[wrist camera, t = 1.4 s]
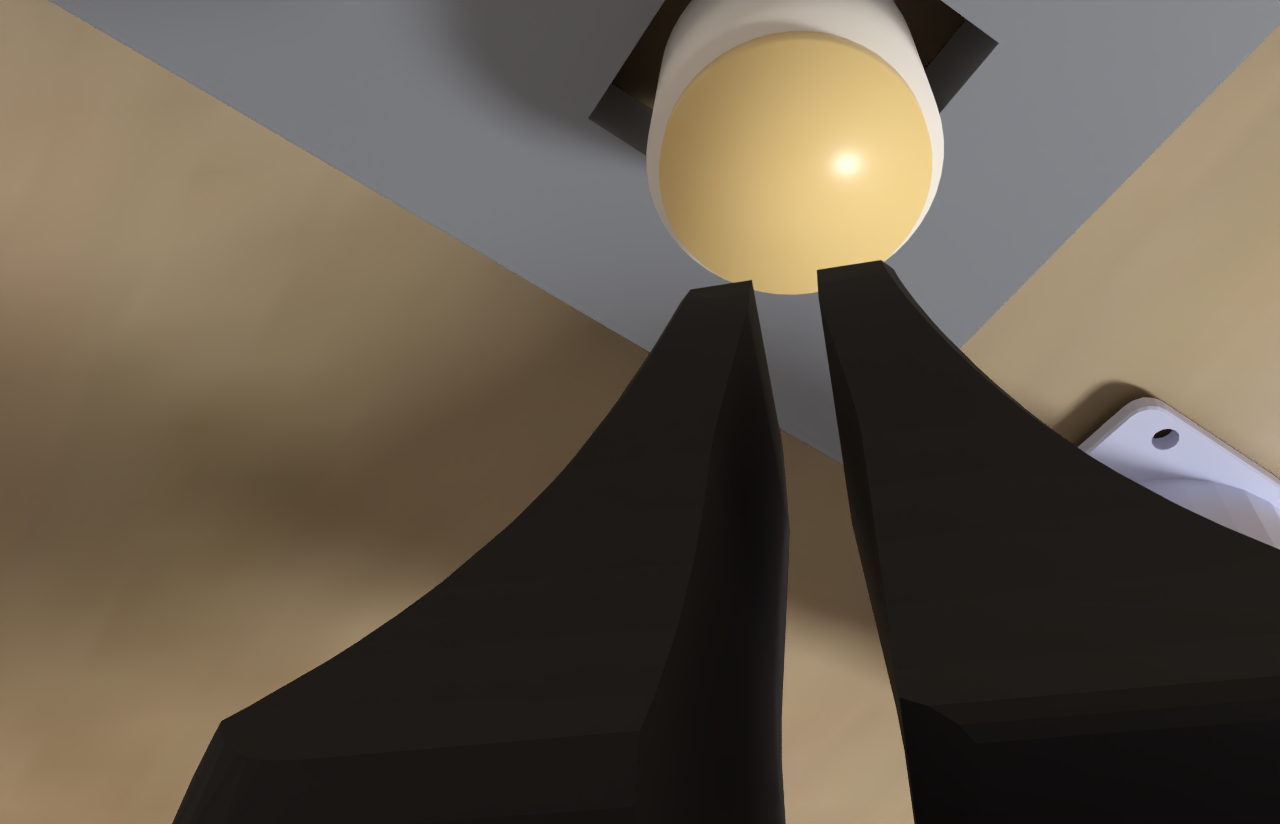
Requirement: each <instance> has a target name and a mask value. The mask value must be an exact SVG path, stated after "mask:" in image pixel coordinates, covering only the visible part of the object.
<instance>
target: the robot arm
mask: <svg viewBox="0 0 1280 824" xmlns="http://www.w3.org/2000/svg"><path fill="white" fill-rule="evenodd" d="M817 284H818V296H819V304H820V311H821V318H822V325H823V331H824V338H825V345H826V351H827V358H828V365H829V372H830V378H831V385H832V392H833V398H834V405H835V412H836V419H837V425H838V432H839V439H840V445H841V452H842V459H843V465H844V472H845V479H846V486H847V492H848V499H849V506H850V512H851V519H852V525H853V529H854V533H855V538H856V542H857V546H858V550H859V554H860V559H861V563H862V567H863V571H864V575H865V579H866V584H867V588H868V592H869V596H870V600H871V605H872V609H873V613H874V617H875V621H876V625H877V629H878V634H879V638H880V642H881V646H882V650H883V654H884V659H885V663H886V667H887V671H888V675H889V679H890V684H891V688H892V692H893V696H894V700H895V704H896V709H897V714H898V719H899V724H900V729H901V735H902V740H903V745H904V750H905V757H906V765H907V772H908V779H909V786H910V794H911V801H912V808H913V816H914V823H915V824H1280V479H1278V478H1277V477H1275V476H1274V475H1272V474H1271V473H1269V472H1268V471H1266V470H1265V469H1263V468H1262V467H1260V466H1259V465H1257V464H1256V463H1254V462H1253V461H1251V460H1250V459H1248V458H1247V457H1245V456H1244V455H1242V454H1241V453H1239V452H1238V451H1236V450H1235V449H1233V448H1232V447H1230V446H1229V445H1227V444H1226V443H1224V442H1223V441H1221V440H1220V439H1218V438H1217V437H1215V436H1214V435H1212V434H1211V433H1209V432H1208V431H1206V430H1205V429H1203V428H1202V427H1200V426H1199V425H1197V424H1196V423H1194V422H1193V421H1191V420H1189V419H1188V418H1186V417H1185V416H1183V415H1182V414H1180V413H1179V412H1177V411H1176V410H1174V409H1173V408H1171V407H1170V406H1168V405H1167V404H1165V403H1164V402H1162V401H1160V400H1158V399H1155V398H1145V397H1143V398H1140V399H1136V400H1133V401H1131V402H1130V403H1128V404H1127V405H1125V406H1124V407H1123V408H1121V409H1120V410H1119V411H1118V412H1117V413H1116V414H1115V415H1114V416H1112V417H1111V418H1110V419H1109V420H1108V421H1107V422H1106V423H1104V424H1103V425H1102V426H1101V427H1100V428H1099V429H1098V430H1096V431H1095V432H1094V433H1093V434H1092V435H1091V436H1090V437H1089V438H1087V439H1086V440H1085V441H1084V442H1083V443H1082V444H1081V445H1079V446H1078V447H1076V446H1075V445H1073V444H1072V443H1070V442H1069V441H1067V440H1066V439H1065V438H1063V437H1062V436H1060V435H1059V434H1057V433H1056V432H1055V431H1053V430H1052V429H1051V428H1049V427H1048V426H1047V425H1045V424H1044V423H1043V422H1041V421H1040V420H1039V419H1038V418H1036V417H1035V416H1034V415H1032V414H1031V413H1030V412H1029V411H1027V410H1026V409H1025V408H1024V407H1022V406H1021V405H1020V404H1019V403H1018V402H1017V401H1015V400H1014V399H1013V398H1012V397H1011V396H1009V395H1008V394H1007V393H1006V392H1005V391H1004V390H1002V389H1001V388H1000V387H999V386H998V385H996V384H995V383H994V382H993V381H992V380H991V379H990V378H989V377H988V376H987V375H985V374H984V373H983V372H982V371H981V370H980V369H979V368H978V367H977V366H976V365H975V364H974V363H973V362H972V361H971V360H970V359H969V358H968V357H967V356H966V355H965V354H964V353H963V352H962V351H961V350H960V349H959V348H958V347H957V346H956V345H955V344H954V343H953V342H952V341H951V340H950V339H949V338H948V337H947V336H946V335H945V334H944V333H943V332H942V331H941V330H940V329H939V327H938V326H937V325H936V324H935V323H934V322H933V321H932V320H931V318H930V317H929V316H928V315H927V314H926V313H925V311H924V310H923V309H922V308H921V307H920V305H919V304H918V303H917V302H916V301H915V299H914V298H913V297H912V295H911V294H910V293H909V292H908V290H907V289H906V287H905V286H904V285H903V283H902V282H901V280H900V279H899V277H898V276H897V274H896V272H895V270H894V269H893V268H892V267H890V266H889V265H887V264H886V263H885V262H883V261H882V260H877V261H871V262H864V263H858V264H851V265H845V266H839V267H832V268H826V269H819V270H817ZM1163 429H1172V431H1171V432H1170V434H1168V435H1167V436H1165V437H1163V438H1153V436H1154V435H1155V433H1157V432H1159V431H1161V430H1163ZM789 532H790V530H789V517H788V504H787V492H786V480H785V468H784V457H783V446H782V440H781V435H780V430H779V424H778V419H777V413H776V408H775V402H774V397H773V392H772V386H771V381H770V375H769V370H768V365H767V359H766V354H765V348H764V343H763V337H762V332H761V327H760V321H759V316H758V310H757V305H756V300H755V294H754V289H753V283H752V280H748V281H742V282H735V283H729V284H722V285H716V286H709V287H703V288H696V289H690V291H689V292H688V293H687V295H686V296H685V297H684V298H683V300H682V301H681V303H680V304H679V306H678V308H677V309H676V311H675V313H674V314H673V316H672V318H671V319H670V321H669V323H668V324H667V326H666V328H665V329H664V331H663V333H662V334H661V336H660V337H659V339H658V341H657V342H656V344H655V345H654V347H653V349H652V350H651V352H650V353H649V355H648V357H647V358H646V360H645V361H644V363H643V364H642V366H641V367H640V369H639V370H638V372H637V373H636V375H635V376H634V378H633V379H632V381H631V382H630V383H629V385H628V386H627V388H626V389H625V391H624V392H623V394H622V395H621V397H620V398H619V400H618V401H617V402H616V404H615V405H614V407H613V408H612V409H611V411H610V412H609V414H608V415H607V416H606V417H605V419H604V420H603V421H602V423H601V424H600V425H599V426H598V428H597V429H596V430H595V431H594V433H593V434H592V435H591V437H590V438H589V439H588V440H587V442H586V443H585V444H584V445H583V447H582V448H581V449H580V450H579V452H578V453H577V454H576V456H575V457H574V458H573V459H572V461H571V462H570V463H569V464H568V465H567V466H566V468H565V469H564V470H563V471H562V472H561V473H560V474H559V475H558V476H557V478H556V479H555V480H554V481H553V482H552V483H551V484H550V485H549V486H548V487H547V488H546V489H545V490H544V491H543V492H542V493H541V494H540V495H539V496H538V497H537V498H536V499H535V500H534V501H533V502H532V503H531V504H530V505H529V506H528V507H527V508H526V509H525V510H524V511H523V512H522V513H521V514H520V515H519V516H518V517H517V518H516V519H515V520H514V521H513V522H512V523H511V524H510V525H509V526H508V527H506V528H505V529H504V530H503V531H502V532H501V533H500V534H498V535H497V536H496V537H495V538H494V539H492V540H491V541H490V542H489V543H488V544H487V545H485V546H484V547H483V548H482V549H481V550H479V551H478V552H477V553H476V554H475V555H473V556H472V557H471V558H470V559H469V560H468V561H466V562H465V563H464V564H463V565H462V566H460V567H459V568H458V569H457V570H456V571H455V572H453V573H452V574H451V575H450V576H449V577H447V578H446V579H445V580H444V581H443V582H441V583H440V584H439V585H438V586H436V587H435V588H434V589H432V590H431V591H430V592H428V593H427V594H426V595H424V596H423V597H421V598H420V599H419V600H417V601H416V602H415V603H413V604H412V605H410V606H409V607H408V608H406V609H405V610H404V611H402V612H401V613H400V614H398V615H397V616H395V617H394V618H392V619H391V620H389V621H388V622H386V623H385V624H384V625H382V626H381V627H379V628H378V629H376V630H375V631H373V632H372V633H370V634H369V635H367V636H366V637H364V638H363V639H361V640H360V641H358V642H357V643H355V644H354V645H352V646H351V647H349V648H347V649H346V650H344V651H343V652H341V653H340V654H338V655H336V656H335V657H333V658H332V659H330V660H329V661H327V662H325V663H323V664H322V665H320V666H318V667H316V668H315V669H313V670H311V671H309V672H308V673H306V674H304V675H302V676H301V677H299V678H297V679H296V680H294V681H292V682H290V683H289V684H287V685H285V686H283V687H282V688H280V689H278V690H276V691H275V692H273V693H271V694H269V695H268V696H266V697H264V698H263V699H261V700H259V701H257V702H256V703H254V704H252V705H250V706H249V707H247V708H245V709H243V710H241V711H239V712H238V713H236V714H234V715H232V716H230V717H228V718H226V719H224V720H222V721H221V723H220V725H219V727H218V729H217V730H216V732H215V734H214V736H213V738H212V740H211V742H210V744H209V746H208V748H207V750H206V752H205V754H204V756H203V758H202V760H201V762H200V764H199V766H198V768H197V770H196V772H195V774H194V776H193V778H192V780H191V782H190V785H189V787H188V789H187V791H186V794H185V796H184V798H183V800H182V803H181V805H180V807H179V810H178V812H177V814H176V816H175V819H174V821H173V823H172V824H785V807H784V791H783V775H782V696H783V673H784V651H785V629H786V607H787V583H788V559H789Z"/></svg>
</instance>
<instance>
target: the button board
mask: <svg viewBox="0 0 1280 824" xmlns="http://www.w3.org/2000/svg"><path fill="white" fill-rule="evenodd" d="M49 1H51V2H53V3H54V4H56V5H58V6H59V7H61V8H63V9H65V10H66V11H68V12H70V13H71V14H73V15H75V16H76V17H78V18H80V19H82V20H83V21H85V22H87V23H88V24H90V25H92V26H94V27H95V28H97V29H99V30H100V31H102V32H104V33H106V34H107V35H109V36H111V37H112V38H114V39H116V40H117V41H119V42H121V43H123V44H124V45H126V46H128V47H129V48H131V49H133V50H135V51H136V52H138V53H140V54H141V55H143V56H145V57H146V58H148V59H150V60H152V61H153V62H155V63H157V64H158V65H160V66H162V67H164V68H165V69H167V70H169V71H170V72H172V73H174V74H175V75H177V76H179V77H181V78H182V79H184V80H186V81H187V82H189V83H191V84H193V85H194V86H196V87H198V88H199V89H201V90H203V91H204V92H206V93H208V94H210V95H211V96H213V97H215V98H216V99H218V100H220V101H222V102H223V103H225V104H227V105H228V106H230V107H232V108H234V109H235V110H237V111H239V112H240V113H242V114H244V115H245V116H247V117H249V118H251V119H252V120H254V121H256V122H257V123H259V124H261V125H263V126H264V127H266V128H268V129H269V130H271V131H273V132H274V133H276V134H278V135H280V136H281V137H283V138H285V139H286V140H288V141H290V142H292V143H293V144H295V145H297V146H298V147H300V148H302V149H303V150H305V151H307V152H309V153H310V154H312V155H314V156H315V157H317V158H319V159H321V160H322V161H324V162H326V163H327V164H329V165H331V166H332V167H334V168H336V169H338V170H339V171H341V172H343V173H344V174H346V175H348V176H350V177H351V178H353V179H355V180H356V181H358V182H360V183H362V184H363V185H365V186H367V187H368V188H370V189H372V190H373V191H375V192H377V193H379V194H380V195H382V196H384V197H385V198H387V199H389V200H391V201H392V202H394V203H396V204H397V205H399V206H401V207H402V208H404V209H406V210H408V211H409V212H411V213H413V214H414V215H416V216H418V217H420V218H421V219H423V220H425V221H426V222H428V223H430V224H431V225H433V226H435V227H437V228H438V229H440V230H442V231H443V232H445V233H447V234H449V235H450V236H452V237H454V238H455V239H457V240H459V241H461V242H462V243H464V244H466V245H467V246H469V247H471V248H472V249H474V250H476V251H478V252H479V253H481V254H483V255H484V256H486V257H488V258H490V259H491V260H493V261H495V262H496V263H498V264H500V265H501V266H503V267H505V268H507V269H508V270H510V271H512V272H513V273H515V274H517V275H519V276H520V277H522V278H524V279H525V280H527V281H529V282H530V283H532V284H534V285H536V286H537V287H539V288H541V289H542V290H544V291H546V292H548V293H549V294H551V295H553V296H554V297H556V298H558V299H559V300H561V301H563V302H565V303H566V304H568V305H570V306H571V307H573V308H575V309H577V310H578V311H580V312H582V313H583V314H585V315H587V316H589V317H590V318H592V319H594V320H595V321H597V322H599V323H600V324H602V325H604V326H606V327H607V328H609V329H611V330H612V331H614V332H616V333H618V334H619V335H621V336H623V337H624V338H626V339H628V340H629V341H631V342H633V343H635V344H636V345H638V346H640V347H641V348H643V349H645V350H647V351H648V352H651V350H652V349H653V347H654V345H655V344H656V342H657V341H658V339H659V337H660V336H661V334H662V333H663V331H664V329H665V328H666V326H667V324H668V323H669V321H670V319H671V318H672V316H673V314H674V313H675V311H676V309H677V308H678V306H679V304H680V303H681V301H682V300H683V298H684V297H685V296H686V295H687V293H688V292H689V291H690V289H696V288H703V287H709V286H716V285H722V284H729V283H732V282H730V281H728V280H725V279H723V278H721V277H719V276H718V275H716V274H714V273H712V272H710V271H708V270H707V269H706V268H704V267H703V266H701V265H700V264H699V263H697V262H696V261H694V260H693V259H692V258H691V257H690V256H689V255H688V254H687V253H686V252H685V251H684V250H682V248H681V247H680V246H679V245H678V244H677V242H676V241H675V240H674V239H673V238H672V237H671V235H670V234H669V232H668V230H667V229H666V227H665V226H664V224H663V223H662V221H661V219H660V217H659V214H658V212H657V210H656V208H655V206H654V203H653V199H652V196H651V193H650V189H649V184H648V177H647V168H646V151H647V143H648V135H649V129H650V124H651V118H652V113H653V110H651V109H650V108H648V107H647V106H645V105H644V104H642V103H640V102H639V101H637V100H636V99H634V98H633V97H631V96H630V95H628V94H627V93H625V92H624V91H622V90H621V89H619V88H617V87H616V86H614V85H613V84H611V82H612V81H613V79H614V78H615V76H616V75H617V73H618V72H619V70H620V69H621V67H622V65H623V64H624V62H625V61H626V59H627V58H628V56H629V55H630V53H631V52H632V50H633V49H634V47H635V45H636V44H637V42H638V41H639V39H640V38H641V36H642V35H643V33H644V32H645V30H646V28H647V27H648V25H649V24H650V22H651V21H652V19H653V18H654V16H655V15H656V13H657V12H658V10H659V8H660V7H661V5H662V4H663V2H664V1H665V0H49ZM941 1H943V2H944V3H945V4H947V5H948V6H949V7H951V8H952V9H953V10H955V11H956V12H957V13H959V14H960V15H962V16H963V17H964V18H966V20H965V21H964V23H963V24H962V25H961V26H960V28H959V29H958V30H957V31H956V32H955V34H954V35H953V36H952V37H951V39H950V40H949V41H948V42H947V43H946V45H945V46H944V47H943V48H942V50H941V51H940V52H939V53H938V55H937V56H936V57H935V58H934V59H933V61H932V62H931V63H930V64H929V66H928V67H927V68H926V69H925V70H924V71H925V74H926V77H927V79H928V82H929V85H930V88H931V90H932V93H933V96H934V99H935V101H936V105H937V108H938V111H939V115H940V118H941V123H942V129H943V136H944V159H943V166H942V174H941V178H940V181H939V185H938V188H937V192H936V195H935V197H934V199H933V201H932V204H931V206H930V208H929V210H928V212H927V214H926V215H925V217H924V219H923V220H922V222H921V224H920V225H919V227H918V228H917V229H916V231H915V232H914V233H913V234H912V236H911V237H910V238H909V239H908V241H907V242H906V243H905V244H904V245H903V246H902V247H901V248H900V249H899V250H898V251H897V252H896V253H894V254H893V255H892V256H891V257H889V258H888V259H887V260H885V261H884V262H885V263H886V264H887V265H889V266H890V267H892V268H893V269H894V270H895V272H896V274H897V276H898V277H899V279H900V280H901V282H902V283H903V285H904V286H905V287H906V289H907V290H908V292H909V293H910V294H911V295H912V297H913V298H914V299H915V301H916V302H917V303H918V304H919V305H920V307H921V308H922V309H923V310H924V311H925V313H926V314H927V315H928V316H929V317H930V318H931V320H932V321H933V322H934V323H935V324H936V325H937V326H938V327H939V329H940V330H941V331H942V332H943V333H944V334H945V335H946V336H947V337H948V338H949V339H950V340H951V341H952V342H953V343H954V344H955V345H956V346H957V347H958V348H959V349H960V348H961V347H962V346H963V345H964V344H965V343H966V342H967V341H968V340H969V339H970V338H971V337H972V336H973V335H974V334H975V333H976V332H977V331H978V330H979V329H980V328H981V327H982V326H983V325H984V324H985V323H986V322H987V321H988V320H989V319H990V318H991V317H992V316H993V315H994V314H995V312H996V311H997V310H998V309H999V308H1000V307H1001V306H1002V305H1003V304H1004V303H1005V302H1006V301H1007V300H1008V299H1009V298H1010V297H1011V296H1012V295H1013V294H1014V293H1015V292H1016V291H1017V290H1018V289H1019V288H1020V287H1021V286H1022V285H1023V284H1024V283H1025V282H1026V281H1027V280H1028V279H1029V278H1030V277H1031V276H1032V275H1033V274H1034V273H1035V272H1036V271H1037V270H1038V269H1039V268H1040V267H1041V266H1042V265H1043V264H1044V263H1045V262H1046V261H1047V260H1048V259H1049V258H1050V257H1051V256H1052V255H1053V254H1054V253H1055V252H1056V251H1057V250H1058V249H1059V248H1060V247H1061V246H1062V245H1063V244H1064V243H1065V242H1066V241H1067V240H1068V239H1069V237H1070V236H1071V235H1072V234H1073V233H1074V232H1075V231H1076V230H1077V229H1078V228H1079V227H1080V226H1081V225H1082V224H1083V223H1084V222H1085V221H1086V220H1087V219H1088V218H1089V217H1090V216H1091V215H1092V214H1093V213H1094V212H1095V211H1096V210H1097V209H1098V208H1099V207H1100V206H1101V205H1102V204H1103V203H1104V202H1105V201H1106V200H1107V199H1108V198H1109V197H1110V196H1111V195H1112V194H1113V193H1114V192H1115V191H1116V190H1117V189H1118V188H1119V187H1120V186H1121V185H1122V184H1123V183H1124V182H1125V181H1126V180H1127V179H1128V178H1129V177H1130V176H1131V175H1132V174H1133V173H1134V172H1135V171H1136V170H1137V169H1138V168H1139V167H1140V166H1141V165H1142V164H1143V162H1144V161H1145V160H1146V159H1147V158H1148V157H1149V156H1150V155H1151V154H1152V153H1153V152H1154V151H1155V150H1156V149H1157V148H1158V147H1159V146H1160V145H1161V144H1162V143H1163V142H1164V141H1165V140H1166V139H1167V138H1168V137H1169V136H1170V135H1171V134H1172V133H1173V132H1174V131H1175V130H1176V129H1177V128H1178V127H1179V126H1180V125H1181V124H1182V123H1183V122H1184V121H1185V120H1186V119H1187V118H1188V117H1189V116H1190V115H1191V114H1192V113H1193V112H1194V111H1195V110H1196V109H1197V108H1198V107H1199V106H1200V105H1201V104H1202V103H1203V102H1204V101H1205V100H1206V99H1207V98H1208V97H1209V96H1210V95H1211V94H1212V93H1213V92H1214V91H1215V90H1216V89H1217V87H1218V86H1219V85H1220V84H1221V83H1222V82H1223V81H1224V80H1225V79H1226V78H1227V77H1228V76H1229V75H1230V74H1231V73H1232V72H1233V71H1234V70H1235V69H1236V68H1237V67H1238V66H1239V65H1240V64H1241V63H1242V62H1243V61H1244V60H1245V59H1246V58H1247V57H1248V56H1249V55H1250V54H1251V53H1252V52H1253V51H1254V50H1255V49H1256V48H1257V47H1258V46H1259V45H1260V44H1261V43H1262V42H1263V41H1264V40H1265V39H1266V38H1267V37H1268V36H1269V35H1270V34H1271V33H1272V32H1273V31H1274V30H1275V29H1276V28H1277V27H1278V26H1279V25H1280V0H941ZM754 294H755V300H756V305H757V310H758V316H759V321H760V327H761V332H762V337H763V343H764V348H765V354H766V359H767V365H768V370H769V375H770V381H771V386H772V392H773V397H774V402H775V408H776V413H777V419H778V424H779V428H780V429H781V430H783V431H785V432H786V433H788V434H790V435H792V436H793V437H795V438H797V439H798V440H800V441H802V442H804V443H805V444H807V445H809V446H810V447H812V448H814V449H816V450H817V451H819V452H821V453H822V454H824V455H826V456H827V457H829V458H831V459H833V460H834V461H836V462H838V463H839V464H841V465H843V459H842V452H841V445H840V439H839V432H838V425H837V419H836V412H835V405H834V398H833V392H832V385H831V378H830V372H829V365H828V358H827V351H826V345H825V338H824V331H823V325H822V318H821V311H820V304H819V296H818V292H815V293H807V294H796V295H790V294H773V293H766V292H760V291H756V290H754ZM843 466H844V465H843Z"/></svg>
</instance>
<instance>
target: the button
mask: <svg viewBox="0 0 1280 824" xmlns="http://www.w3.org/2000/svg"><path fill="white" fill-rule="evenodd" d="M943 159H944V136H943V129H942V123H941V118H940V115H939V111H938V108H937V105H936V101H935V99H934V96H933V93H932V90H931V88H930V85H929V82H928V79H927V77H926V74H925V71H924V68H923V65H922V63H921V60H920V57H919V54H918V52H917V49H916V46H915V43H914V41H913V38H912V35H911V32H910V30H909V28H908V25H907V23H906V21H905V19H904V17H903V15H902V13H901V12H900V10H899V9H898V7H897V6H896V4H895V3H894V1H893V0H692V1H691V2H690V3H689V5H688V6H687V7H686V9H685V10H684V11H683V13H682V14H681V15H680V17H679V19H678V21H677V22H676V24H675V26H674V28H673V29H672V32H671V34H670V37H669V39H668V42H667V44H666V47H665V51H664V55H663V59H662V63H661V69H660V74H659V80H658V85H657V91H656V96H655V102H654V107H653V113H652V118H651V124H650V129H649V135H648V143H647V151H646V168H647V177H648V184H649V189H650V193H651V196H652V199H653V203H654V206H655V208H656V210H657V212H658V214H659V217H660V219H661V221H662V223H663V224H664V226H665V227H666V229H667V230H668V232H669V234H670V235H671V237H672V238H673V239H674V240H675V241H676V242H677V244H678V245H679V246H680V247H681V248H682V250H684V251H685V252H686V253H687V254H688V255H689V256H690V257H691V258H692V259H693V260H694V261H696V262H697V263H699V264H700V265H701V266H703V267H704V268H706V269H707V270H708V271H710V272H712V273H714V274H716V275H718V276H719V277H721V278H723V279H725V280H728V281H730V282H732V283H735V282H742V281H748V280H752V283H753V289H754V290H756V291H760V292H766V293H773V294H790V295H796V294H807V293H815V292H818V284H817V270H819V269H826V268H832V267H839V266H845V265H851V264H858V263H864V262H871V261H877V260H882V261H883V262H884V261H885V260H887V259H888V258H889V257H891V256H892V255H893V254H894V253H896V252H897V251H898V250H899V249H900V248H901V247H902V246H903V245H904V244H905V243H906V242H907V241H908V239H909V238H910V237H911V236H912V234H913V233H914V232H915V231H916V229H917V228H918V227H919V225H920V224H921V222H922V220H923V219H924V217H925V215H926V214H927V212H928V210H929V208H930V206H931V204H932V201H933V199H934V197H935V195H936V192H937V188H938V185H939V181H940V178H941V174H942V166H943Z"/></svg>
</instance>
